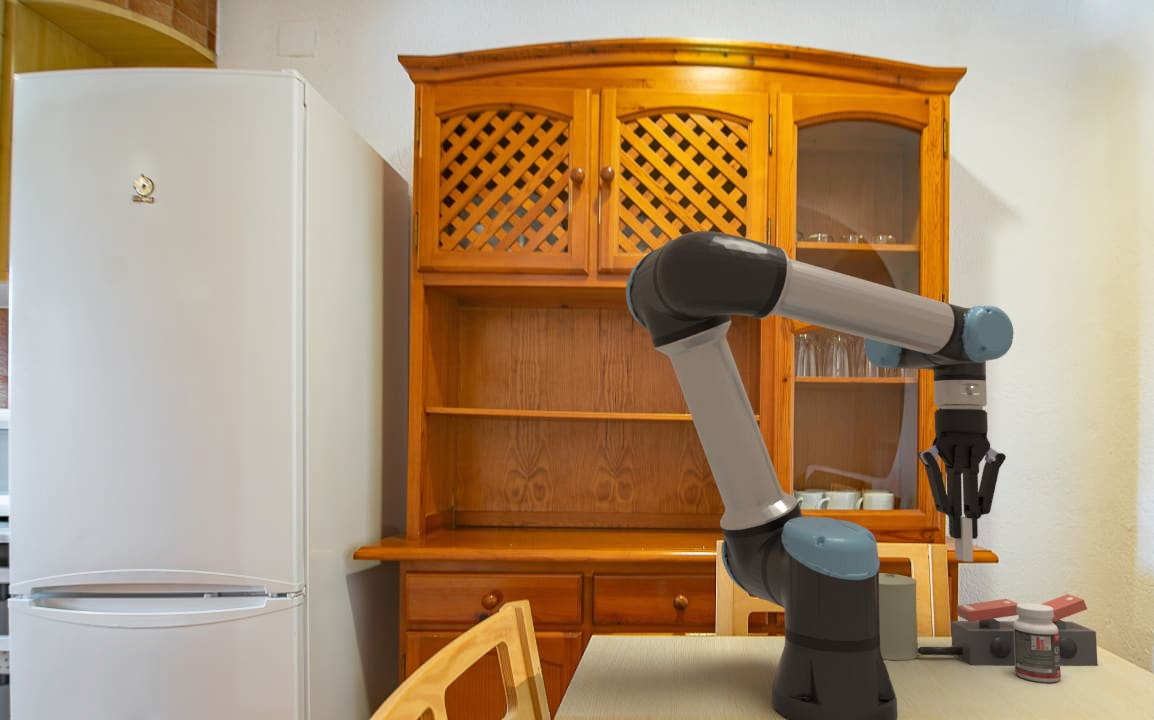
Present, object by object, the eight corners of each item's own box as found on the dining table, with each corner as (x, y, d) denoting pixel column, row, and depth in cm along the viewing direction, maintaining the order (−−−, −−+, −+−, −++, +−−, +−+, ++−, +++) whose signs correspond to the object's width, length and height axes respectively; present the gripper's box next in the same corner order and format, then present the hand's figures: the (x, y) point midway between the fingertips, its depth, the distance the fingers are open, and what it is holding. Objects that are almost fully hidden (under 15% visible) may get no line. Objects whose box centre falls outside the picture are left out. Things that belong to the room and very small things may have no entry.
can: (923, 649, 127) (921, 573, 128) (913, 664, 120) (911, 583, 121) (864, 640, 132) (862, 567, 133) (850, 654, 125) (848, 577, 126)
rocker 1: (970, 621, 121) (968, 611, 121) (957, 615, 125) (956, 605, 125) (1022, 614, 121) (1020, 604, 121) (1008, 608, 125) (1006, 598, 125)
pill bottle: (1067, 685, 110) (1064, 612, 111) (1023, 682, 111) (1020, 610, 112) (1051, 672, 116) (1048, 603, 117) (1009, 669, 117) (1006, 601, 118)
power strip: (926, 664, 119) (925, 623, 120) (910, 653, 125) (909, 613, 126) (1098, 665, 119) (1095, 624, 120) (1073, 653, 125) (1071, 614, 126)
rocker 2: (1038, 627, 121) (1034, 617, 121) (1024, 620, 125) (1020, 611, 125) (1087, 609, 121) (1083, 599, 121) (1071, 603, 125) (1067, 593, 125)
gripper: (929, 407, 122) (932, 563, 120) (1014, 408, 122) (1019, 564, 120) (909, 408, 129) (912, 555, 127) (989, 409, 129) (993, 556, 127)
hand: (964, 559), depth 123 cm, fingers closed
